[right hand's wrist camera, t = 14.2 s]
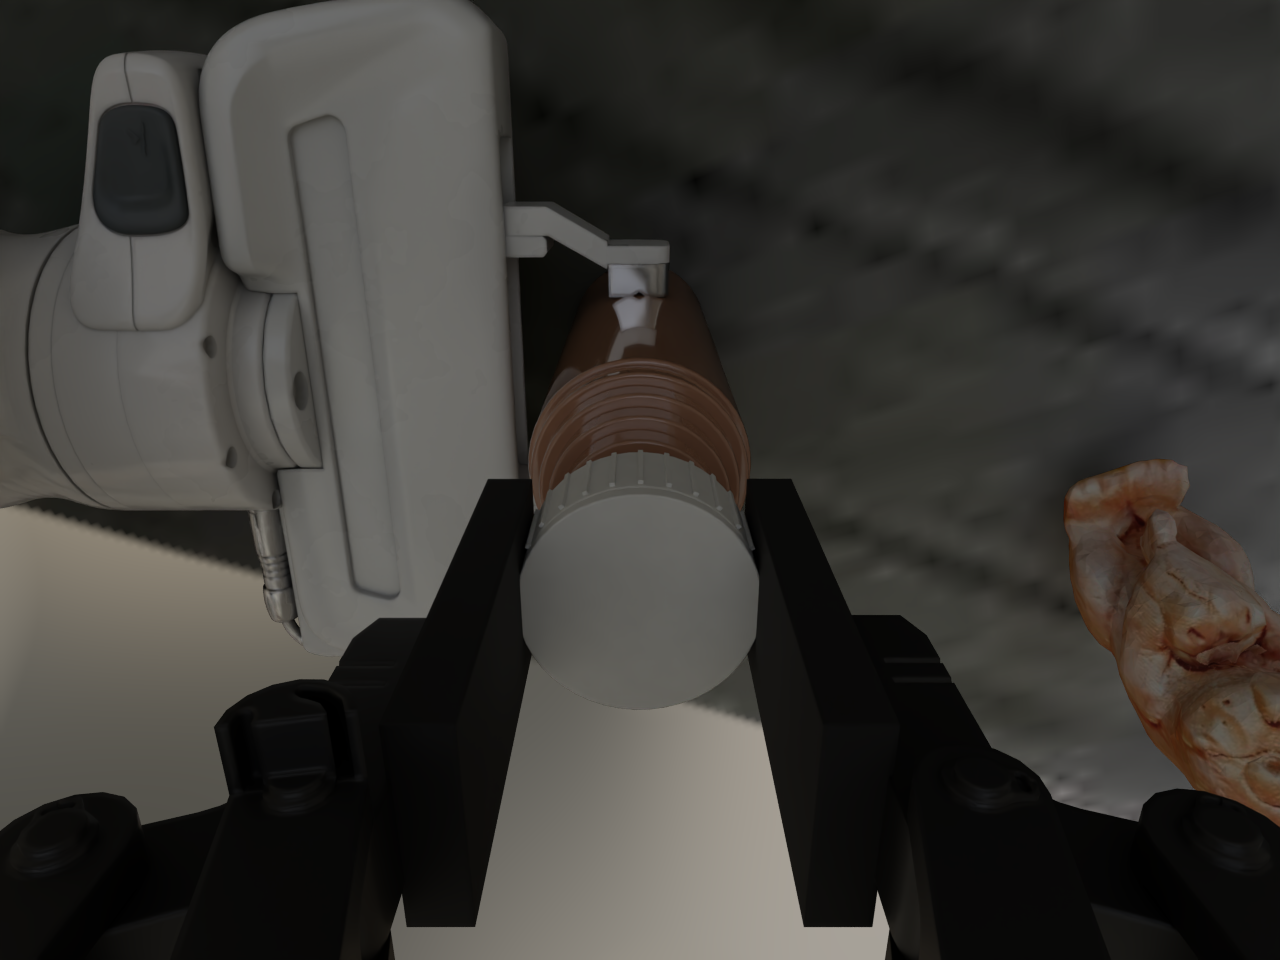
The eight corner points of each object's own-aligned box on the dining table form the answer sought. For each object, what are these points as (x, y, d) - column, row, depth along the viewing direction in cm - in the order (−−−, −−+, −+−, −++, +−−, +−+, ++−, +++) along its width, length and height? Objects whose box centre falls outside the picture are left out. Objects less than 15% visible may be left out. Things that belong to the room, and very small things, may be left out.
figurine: (1134, 416, 33) (1488, 615, 19) (1165, 576, 36) (1497, 851, 22) (980, 471, 34) (1213, 699, 20) (1021, 622, 37) (1253, 916, 23)
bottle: (727, 303, 32) (854, 538, 13) (663, 411, 34) (694, 760, 15) (613, 237, 31) (574, 389, 12) (553, 352, 33) (435, 643, 14)
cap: (602, 404, 14) (598, 442, 12) (796, 522, 15) (817, 574, 13) (486, 583, 15) (467, 641, 13) (671, 683, 16) (675, 750, 14)
